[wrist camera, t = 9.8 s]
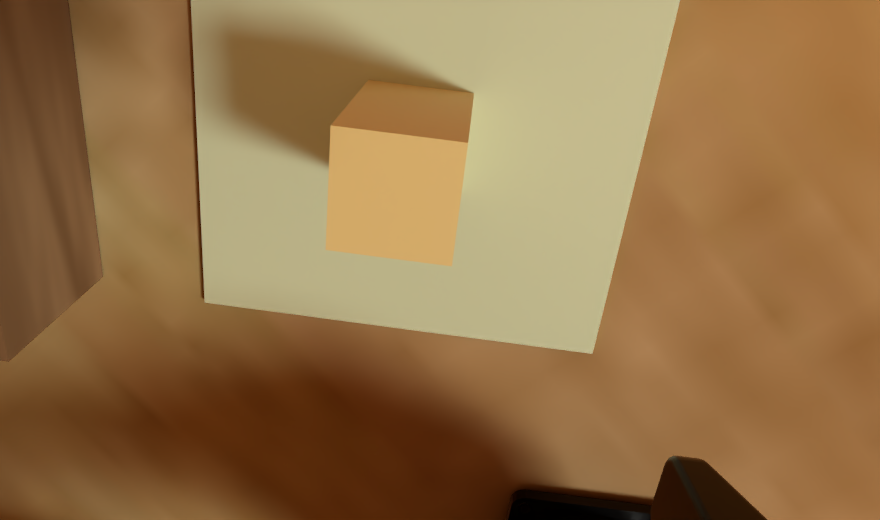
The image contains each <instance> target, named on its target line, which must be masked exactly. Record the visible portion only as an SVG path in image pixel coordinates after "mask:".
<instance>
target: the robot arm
mask: <svg viewBox="0 0 880 520" xmlns="http://www.w3.org/2000/svg"><path fill="white" fill-rule="evenodd" d="M521 503H527V505H521ZM506 520H767V519H766V518H765V517H764V516H763V515H762V514H761V513H760V512H759V511H758V510H757V509H756V508H755V507H753V506H752V505H751V504H750V503H749V502H748V501H747V500H746V499H745V498H744V497H743V496H742V495H741V494H740V493H739V492H738V491H737V490H736V489H734V488H733V487H732V486H731V485H730V484H729V483H728V482H727V481H726V480H725V479H724V478H723V477H722V476H721V475H720V474H719V473H718V472H717V471H715V470H714V469H713V468H712V467H711V466H710V465H709V464H708V463H707V462H705V461H704V460H702V459H698V458H690V457H682V456H672V457H670V458H669V459H668V460H667V461H666V463H665V466H664V468H663V472H662V475H661V478H660V481H659V484H658V487H657V490H656V493H655V496H654V499H653V503H652V506H648V505H640V504H632V503H624V502H616V501H609V500H601V499H593V498H585V497H577V496H569V495H561V494H554V493H546V492H538V491H530V490H520V491H517V492H515V493H514V494H513V495H512V497H511V499H510V504H509V509H508V514H507V519H506Z"/></svg>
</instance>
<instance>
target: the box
mask: <svg viewBox="0 0 880 520" xmlns="http://www.w3.org/2000/svg"><path fill="white" fill-rule="evenodd" d="M102 277H103V273H102V265H101V257H100V249H99V241H98V234H97V226H96V218H95V210H94V202H93V194H92V186H91V178H90V170H89V163H88V155H87V147H86V139H85V131H84V123H83V115H82V107H81V99H80V92H79V84H78V76H77V68H76V60H75V52H74V44H73V36H72V29H71V21H70V13H69V5H68V0H0V361H8V362H9V361H10V360H11V359H12V358H13V357H14V356H15V355H17V354H18V353H19V352H20V351H21V350H22V349H23V348H24V347H25V346H27V345H28V344H29V343H30V342H31V341H32V340H33V339H34V338H35V337H37V336H38V335H39V334H40V333H41V332H42V331H43V330H44V329H45V328H47V327H48V326H49V325H50V324H51V323H52V322H53V321H54V320H55V319H57V318H58V317H59V316H60V315H61V314H62V313H63V312H64V311H65V310H66V309H68V308H69V307H70V306H71V305H72V304H73V303H74V302H75V301H76V300H78V299H79V298H80V297H81V296H82V295H83V294H84V293H85V292H86V291H88V290H89V289H90V288H91V287H92V286H93V285H94V284H95V283H96V282H98V281H99V280H100V279H101V278H102Z"/></svg>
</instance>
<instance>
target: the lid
mask: <svg viewBox="0 0 880 520" xmlns="http://www.w3.org/2000/svg"><path fill="white" fill-rule="evenodd" d="M679 3H680V0H191V17H192V38H193V60H194V82H195V104H196V125H197V147H198V169H199V190H200V212H201V234H202V255H203V277H204V299H205V303H211V304H219V305H227V306H234V307H242V308H249V309H257V310H265V311H272V312H280V313H287V314H295V315H302V316H310V317H318V318H325V319H333V320H340V321H348V322H355V323H363V324H371V325H378V326H386V327H393V328H401V329H408V330H416V331H424V332H431V333H439V334H446V335H454V336H462V337H469V338H477V339H484V340H492V341H499V342H507V343H515V344H522V345H530V346H537V347H545V348H552V349H560V350H568V351H575V352H583V353H590V354H593V350H594V346H595V342H596V338H597V334H598V330H599V326H600V322H601V318H602V314H603V309H604V305H605V301H606V297H607V293H608V289H609V285H610V281H611V277H612V273H613V269H614V265H615V261H616V257H617V253H618V249H619V245H620V241H621V237H622V233H623V229H624V225H625V221H626V217H627V213H628V209H629V204H630V200H631V196H632V192H633V188H634V184H635V180H636V176H637V172H638V168H639V164H640V160H641V156H642V152H643V148H644V144H645V140H646V136H647V132H648V128H649V124H650V120H651V116H652V112H653V108H654V104H655V99H656V95H657V91H658V87H659V83H660V79H661V75H662V71H663V67H664V63H665V59H666V55H667V51H668V47H669V43H670V39H671V35H672V31H673V27H674V23H675V19H676V15H677V11H678V7H679Z"/></svg>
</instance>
